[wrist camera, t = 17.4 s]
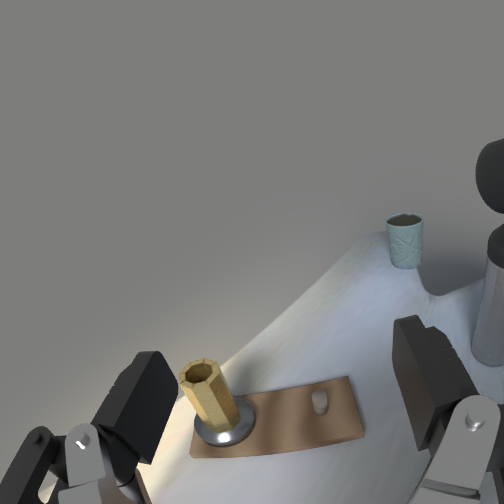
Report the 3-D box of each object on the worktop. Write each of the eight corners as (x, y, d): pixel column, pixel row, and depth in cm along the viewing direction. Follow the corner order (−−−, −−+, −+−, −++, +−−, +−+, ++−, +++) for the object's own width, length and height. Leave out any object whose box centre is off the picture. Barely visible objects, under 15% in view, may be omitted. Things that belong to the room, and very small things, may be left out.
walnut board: (348, 382, 41) (346, 360, 39) (363, 436, 31) (364, 418, 29) (203, 404, 44) (192, 386, 42) (193, 458, 33) (179, 441, 32)
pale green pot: (423, 253, 70) (422, 212, 66) (424, 271, 63) (424, 225, 59) (390, 254, 76) (386, 213, 72) (386, 271, 68) (383, 226, 64)
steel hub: (248, 394, 42) (238, 369, 40) (262, 437, 34) (252, 413, 32) (195, 410, 41) (180, 386, 39) (201, 453, 33) (184, 432, 31)
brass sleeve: (236, 401, 40) (215, 354, 36) (243, 426, 35) (221, 381, 31) (204, 410, 39) (178, 365, 35) (208, 436, 34) (179, 392, 31)
